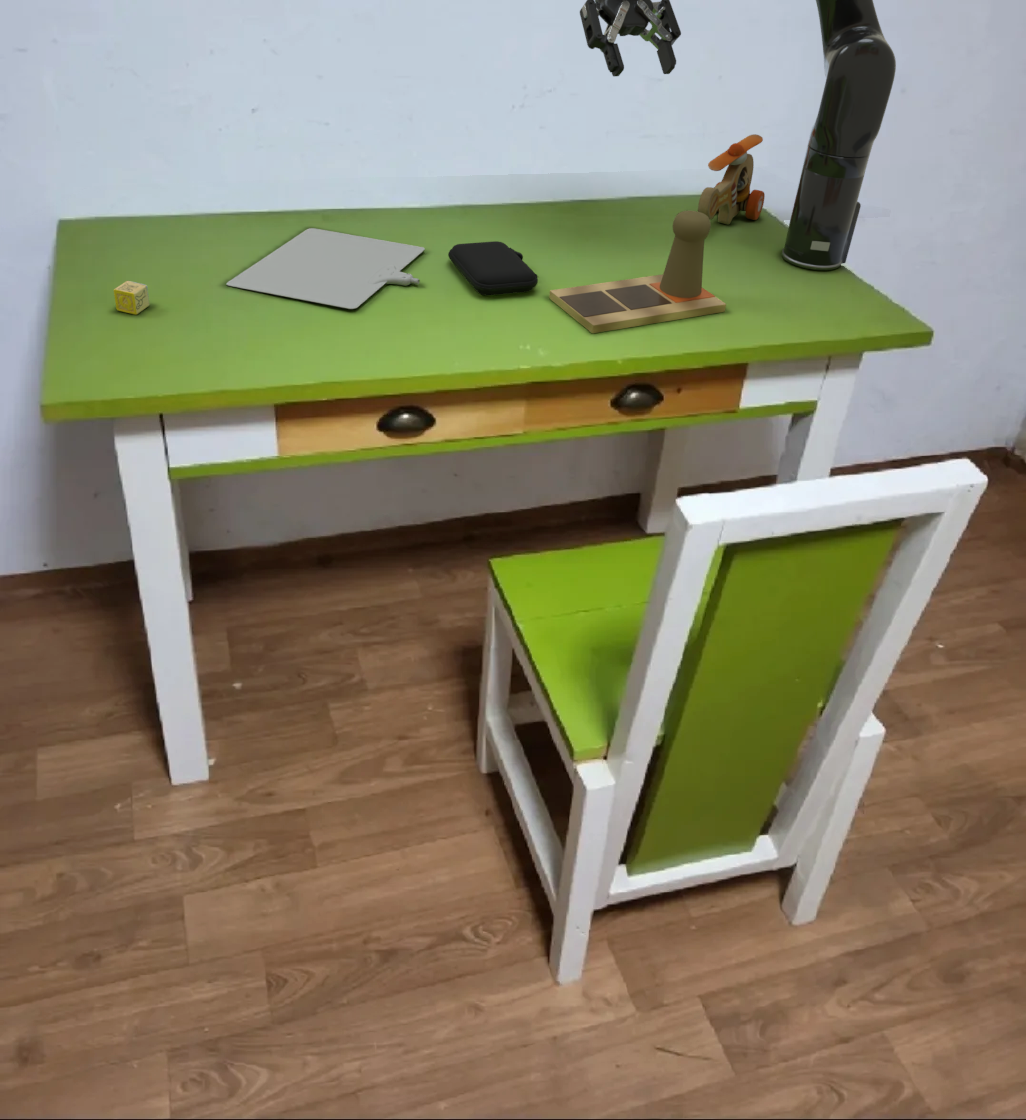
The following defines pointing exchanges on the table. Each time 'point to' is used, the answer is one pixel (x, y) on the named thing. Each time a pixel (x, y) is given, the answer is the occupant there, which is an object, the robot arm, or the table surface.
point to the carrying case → (493, 268)
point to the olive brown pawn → (686, 255)
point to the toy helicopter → (733, 184)
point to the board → (630, 304)
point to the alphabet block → (131, 297)
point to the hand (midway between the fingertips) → (644, 72)
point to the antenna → (330, 268)
